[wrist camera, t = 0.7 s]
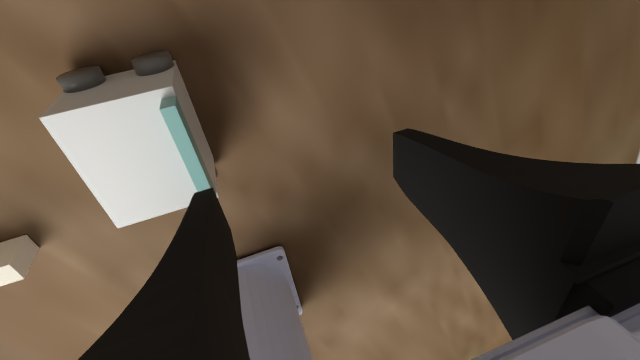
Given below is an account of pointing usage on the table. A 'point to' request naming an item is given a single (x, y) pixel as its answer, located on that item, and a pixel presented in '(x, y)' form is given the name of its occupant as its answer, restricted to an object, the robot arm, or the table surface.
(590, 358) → the robot arm
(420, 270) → the table surface
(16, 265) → the bay
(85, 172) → the white box with knobs
